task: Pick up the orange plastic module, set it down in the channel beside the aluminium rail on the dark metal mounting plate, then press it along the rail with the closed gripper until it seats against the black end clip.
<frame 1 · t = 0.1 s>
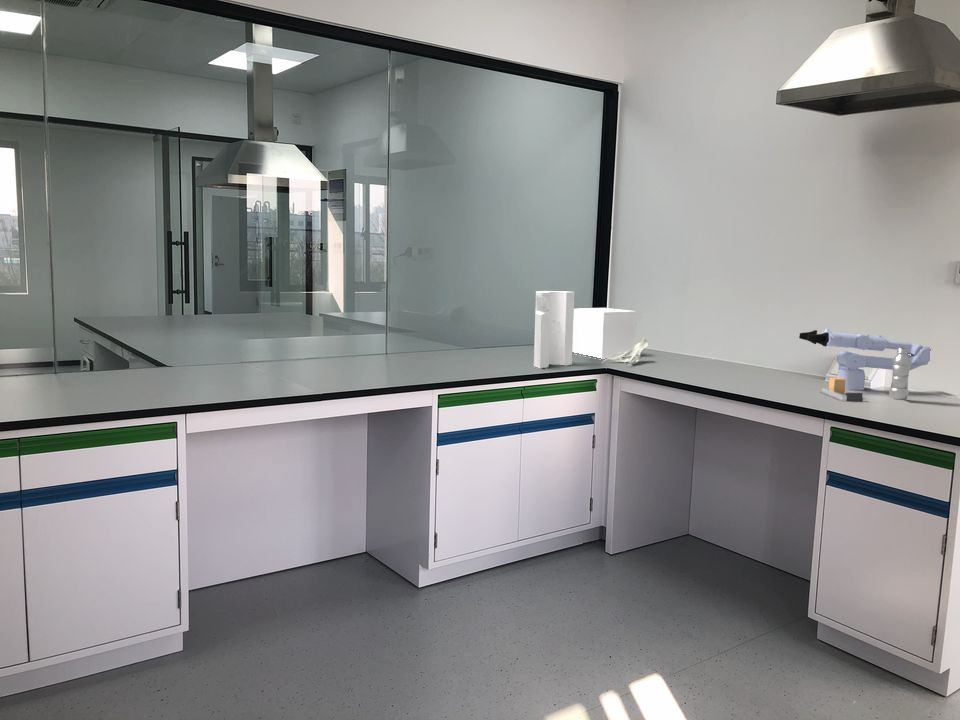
hand: (803, 336, 307), 22 cm above the worktop, tool horizontal, fingers open, 7 cm apart
cube: (602, 356, 403), on the worktop
skeletal model: (630, 364, 375), on the worktop
module: (836, 393, 297), point 1 cm above the worktop, touching mounting plate
mounting plate: (842, 398, 291), on the worktop
plastic bottle: (897, 400, 290), on the worktop
white grooved block: (548, 366, 362), on the worktop
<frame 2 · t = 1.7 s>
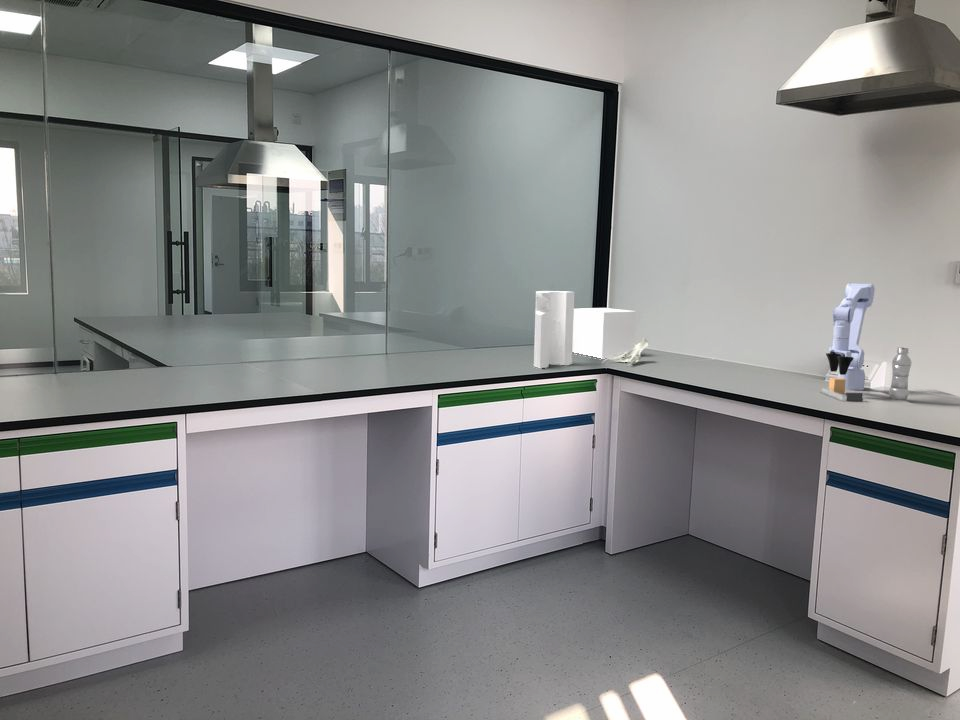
hand: (838, 373, 296), 9 cm above the worktop, tool pointing down, fingers open, 7 cm apart
nothing on the worktop moved.
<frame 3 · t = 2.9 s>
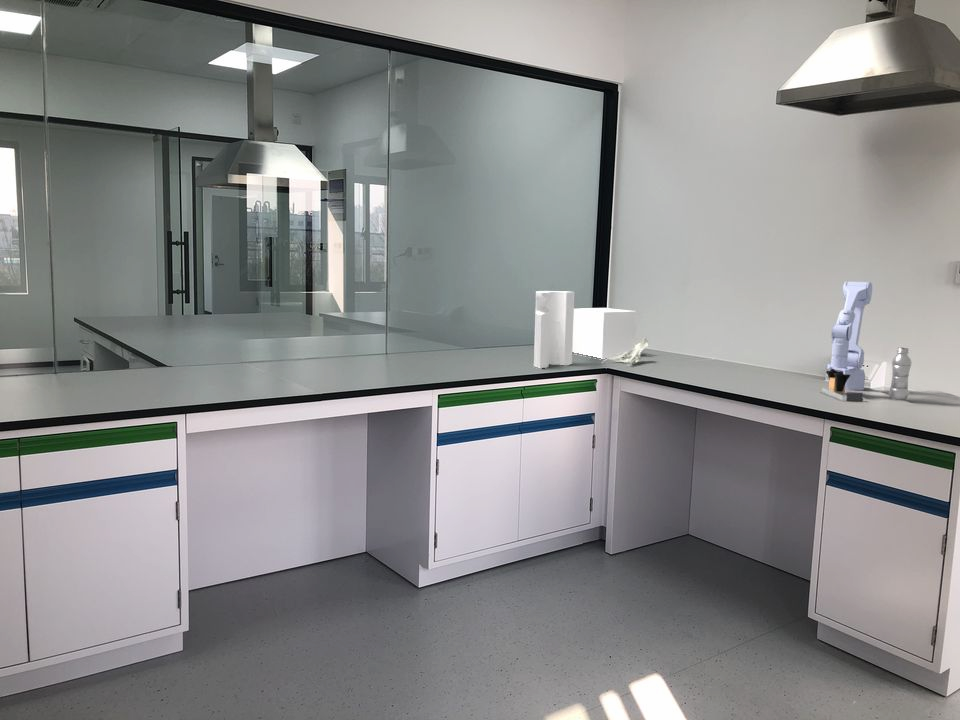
hand: (836, 390, 297), 2 cm above the worktop, tool pointing down, fingers closed on module, 4 cm apart
module: (836, 393, 297), point 1 cm above the worktop, touching gripper, mounting plate
everything else where it was.
when the fingers open (4 cm above the worktop, at t = 5.7 s): module stays where it is, resting on mounting plate.
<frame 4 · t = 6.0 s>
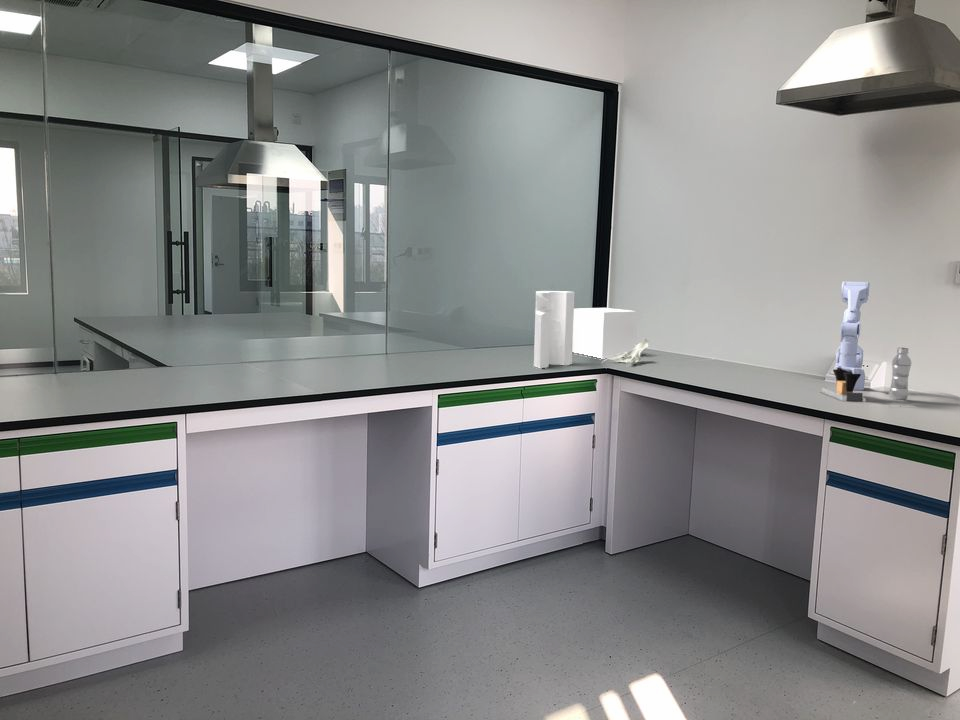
hand: (845, 389, 289), 4 cm above the worktop, tool pointing down, fingers open, 6 cm apart
module: (844, 397, 290), point 1 cm above the worktop, touching mounting plate
everything else where it was.
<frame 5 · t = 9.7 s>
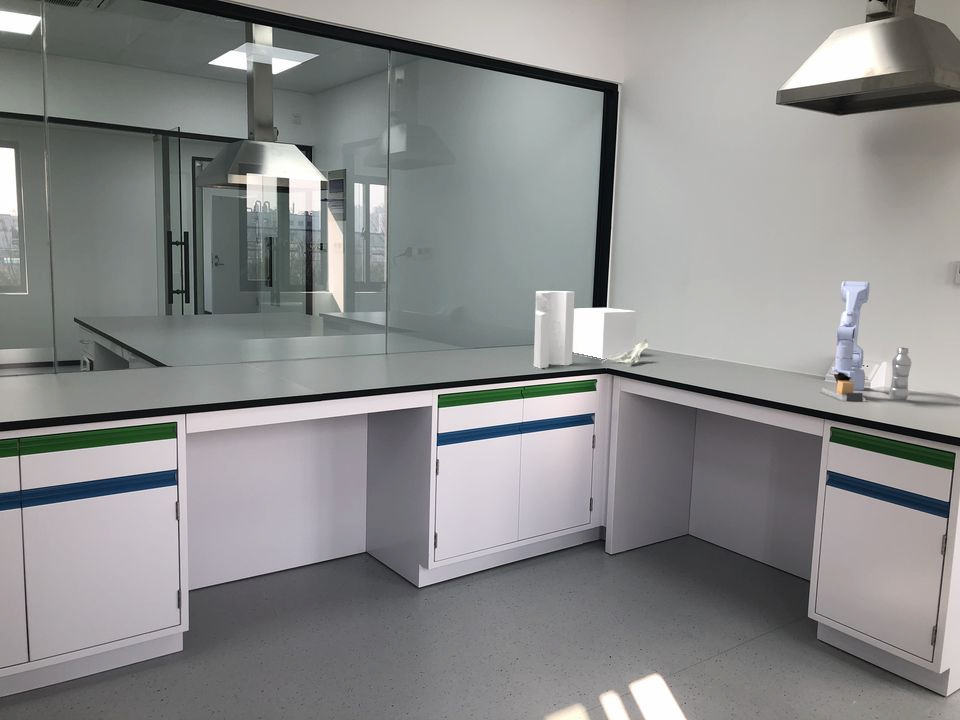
hand: (841, 393, 292), 2 cm above the worktop, tool pointing down, fingers closed, pressing on module
module: (844, 397, 290), point 1 cm above the worktop, touching gripper, mounting plate
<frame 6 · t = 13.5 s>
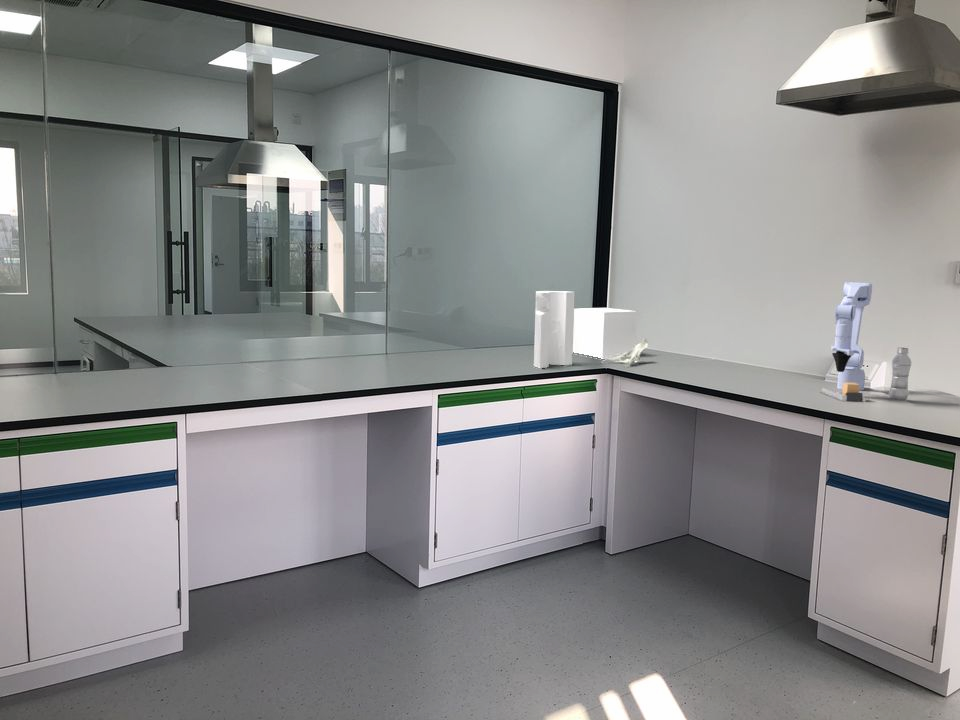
hand: (840, 371, 293), 10 cm above the worktop, tool pointing down, fingers closed
module: (849, 399, 286), point 1 cm above the worktop, touching mounting plate
at the end: module 0.4 cm from the target spot, point 0.8 cm above the worktop; module tilted 0°; the gripper is holding nothing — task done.
